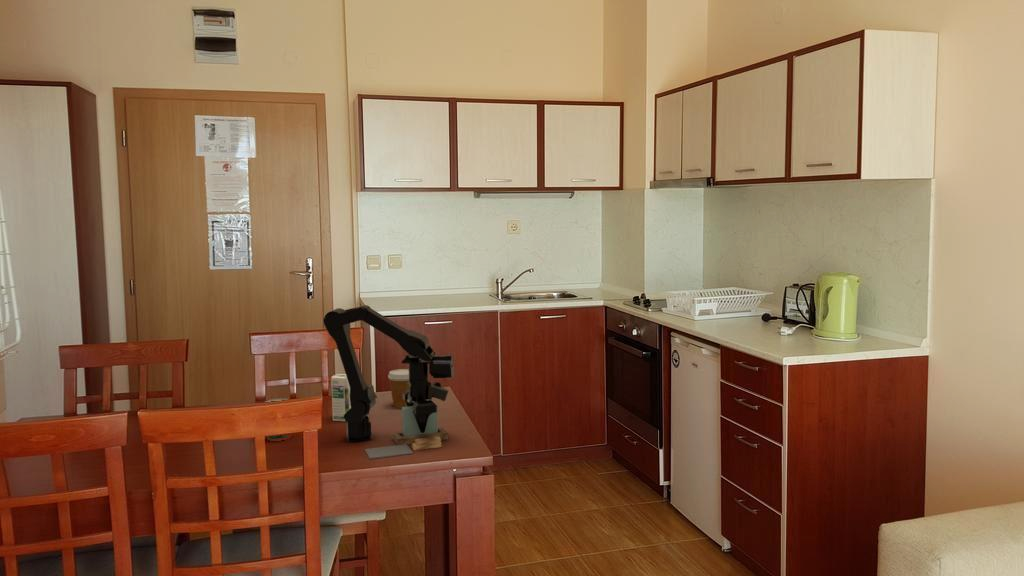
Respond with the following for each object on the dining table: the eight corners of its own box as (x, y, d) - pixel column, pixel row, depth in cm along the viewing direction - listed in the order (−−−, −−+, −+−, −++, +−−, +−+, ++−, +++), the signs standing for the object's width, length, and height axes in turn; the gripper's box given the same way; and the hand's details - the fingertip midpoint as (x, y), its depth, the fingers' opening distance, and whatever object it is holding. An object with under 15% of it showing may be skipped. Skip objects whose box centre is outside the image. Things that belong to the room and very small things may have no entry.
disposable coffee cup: (391, 402, 269) (390, 368, 268) (418, 402, 269) (417, 368, 268) (386, 409, 260) (385, 375, 259) (414, 409, 260) (413, 375, 258)
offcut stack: (414, 450, 218) (413, 442, 218) (411, 447, 221) (411, 439, 221) (441, 447, 221) (441, 438, 221) (438, 443, 224) (438, 435, 223)
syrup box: (332, 421, 248) (330, 376, 246) (340, 415, 253) (338, 372, 252) (348, 422, 246) (346, 377, 245) (356, 416, 252) (354, 373, 250)
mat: (369, 459, 211) (369, 458, 211) (365, 450, 219) (364, 449, 218) (412, 453, 215) (412, 452, 215) (406, 445, 223) (406, 444, 223)
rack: (397, 445, 222) (397, 439, 222) (392, 439, 229) (392, 432, 228) (447, 439, 228) (447, 433, 227) (441, 433, 234) (441, 426, 233)
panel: (404, 443, 225) (403, 409, 224) (402, 440, 228) (401, 407, 227) (438, 439, 228) (437, 406, 227) (435, 436, 231) (434, 403, 230)
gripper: (453, 382, 220) (454, 435, 222) (437, 368, 237) (438, 418, 239) (415, 386, 216) (417, 439, 218) (401, 372, 233) (402, 422, 235)
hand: (420, 429), depth 228 cm, fingers open, 6 cm apart
